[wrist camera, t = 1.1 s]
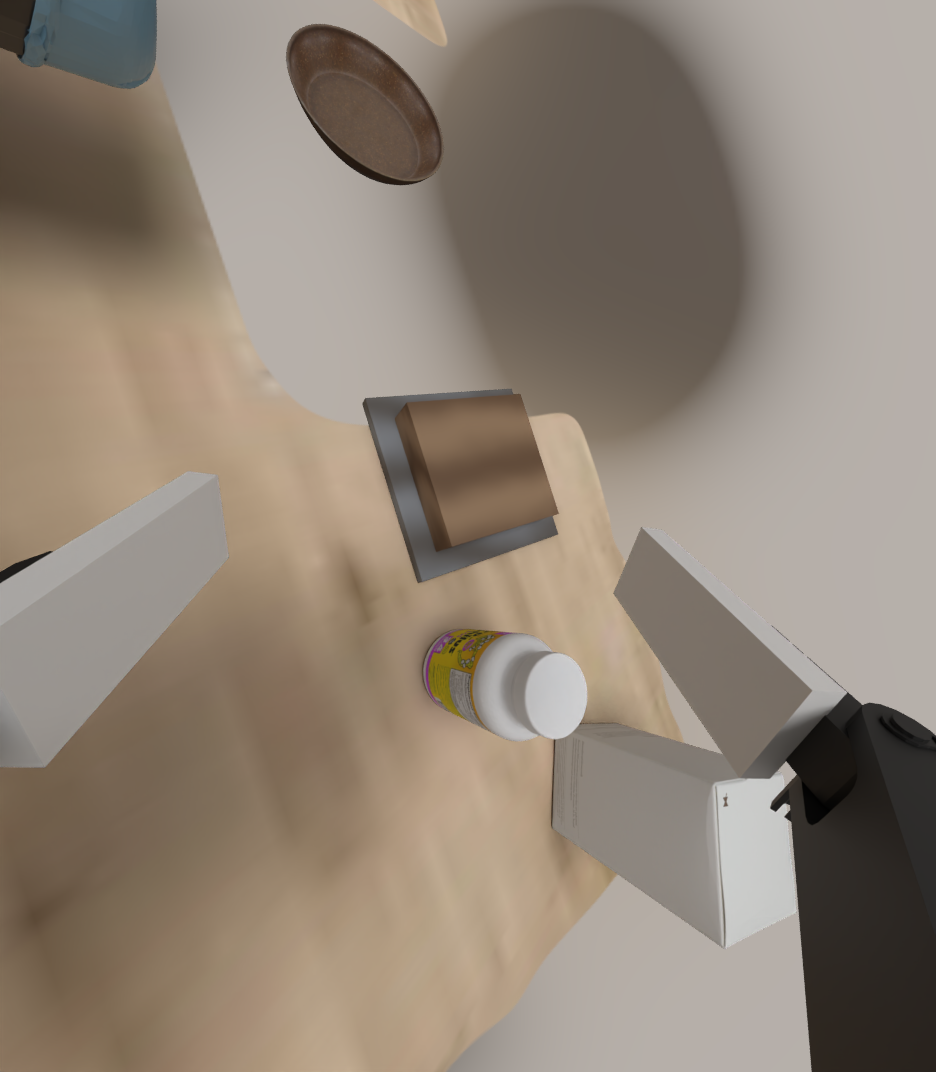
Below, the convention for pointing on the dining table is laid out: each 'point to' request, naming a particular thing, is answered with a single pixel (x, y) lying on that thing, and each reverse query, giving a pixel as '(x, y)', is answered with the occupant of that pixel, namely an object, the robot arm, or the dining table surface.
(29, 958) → the dining table surface
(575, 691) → the supplement bottle
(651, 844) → the supplement box
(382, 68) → the saucer
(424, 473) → the pedestal
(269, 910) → the dining table surface
